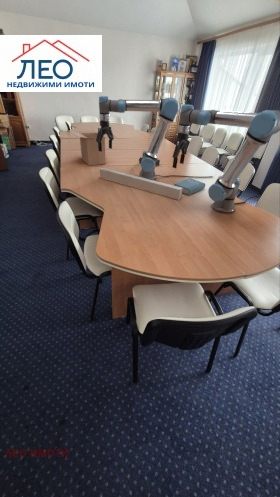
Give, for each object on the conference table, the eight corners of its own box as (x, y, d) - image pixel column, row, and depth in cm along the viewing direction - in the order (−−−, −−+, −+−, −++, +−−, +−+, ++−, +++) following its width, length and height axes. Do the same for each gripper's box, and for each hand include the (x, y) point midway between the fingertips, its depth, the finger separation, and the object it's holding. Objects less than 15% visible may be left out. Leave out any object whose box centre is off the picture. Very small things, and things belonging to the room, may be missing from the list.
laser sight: (158, 166, 235) (159, 156, 229) (137, 164, 238) (138, 154, 232) (159, 164, 243) (160, 154, 237) (139, 161, 245) (140, 152, 239)
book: (188, 183, 198) (190, 178, 195) (204, 189, 190) (205, 183, 187) (173, 189, 185) (174, 183, 182) (188, 195, 176) (190, 189, 173)
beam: (99, 177, 197) (99, 168, 192) (103, 176, 200) (103, 167, 196) (178, 199, 168) (180, 189, 164) (180, 197, 172) (182, 188, 167)
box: (116, 165, 229) (116, 136, 213) (83, 168, 214) (80, 137, 198) (102, 154, 259) (101, 128, 243) (71, 156, 244) (68, 129, 228)
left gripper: (98, 122, 159) (99, 153, 172) (117, 119, 177) (117, 148, 190) (90, 121, 162) (92, 151, 175) (110, 118, 180) (110, 146, 193)
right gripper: (181, 135, 135) (176, 170, 148) (194, 131, 153) (189, 162, 165) (170, 133, 138) (166, 168, 151) (184, 129, 156) (179, 160, 168)
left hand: (105, 149), depth 182 cm, fingers open, 13 cm apart
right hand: (178, 165), depth 158 cm, fingers open, 13 cm apart
